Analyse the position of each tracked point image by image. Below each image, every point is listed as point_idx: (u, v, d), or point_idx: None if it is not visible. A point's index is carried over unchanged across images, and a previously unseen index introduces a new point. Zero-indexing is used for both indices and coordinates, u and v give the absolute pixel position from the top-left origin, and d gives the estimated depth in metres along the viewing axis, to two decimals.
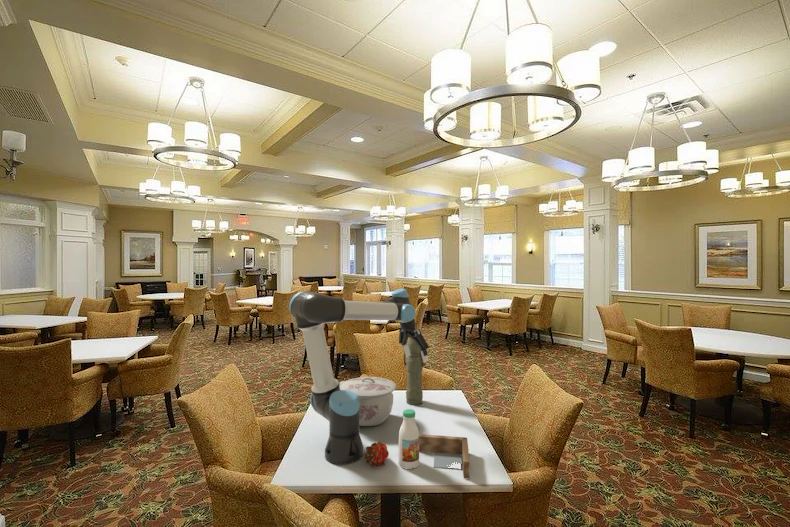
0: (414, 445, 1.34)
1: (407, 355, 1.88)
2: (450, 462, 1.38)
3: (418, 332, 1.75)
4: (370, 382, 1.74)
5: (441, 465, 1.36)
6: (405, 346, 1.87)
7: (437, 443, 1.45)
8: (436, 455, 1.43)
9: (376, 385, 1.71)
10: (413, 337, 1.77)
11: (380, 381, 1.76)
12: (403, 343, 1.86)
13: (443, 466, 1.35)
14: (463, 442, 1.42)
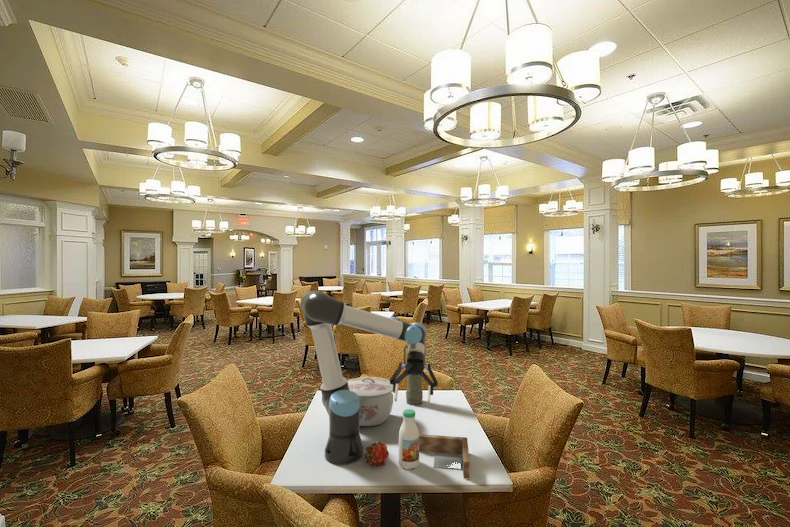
0: (414, 445, 1.34)
1: (396, 397, 1.49)
2: (450, 462, 1.38)
3: (430, 367, 1.57)
4: (370, 382, 1.74)
5: (441, 465, 1.36)
6: (397, 386, 1.52)
7: (437, 443, 1.45)
8: (436, 455, 1.43)
9: (376, 385, 1.71)
10: (422, 370, 1.55)
11: (380, 381, 1.76)
12: (398, 380, 1.53)
13: (443, 466, 1.35)
14: (463, 442, 1.42)
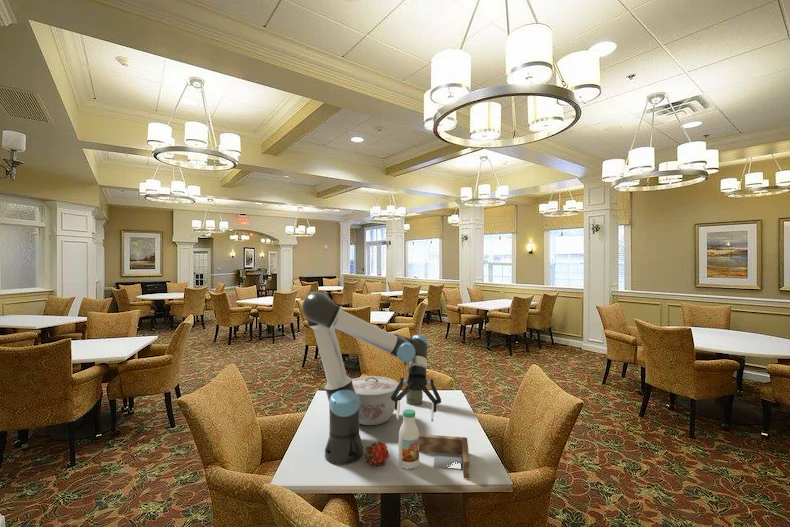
0: (414, 445, 1.34)
1: (398, 415, 1.43)
2: (450, 462, 1.38)
3: (433, 382, 1.52)
4: (374, 381, 1.75)
5: (441, 465, 1.36)
6: (399, 403, 1.47)
7: (437, 443, 1.45)
8: (436, 455, 1.43)
9: (380, 383, 1.72)
10: (425, 386, 1.50)
11: (383, 380, 1.78)
12: (399, 397, 1.48)
13: (443, 466, 1.35)
14: (463, 442, 1.42)
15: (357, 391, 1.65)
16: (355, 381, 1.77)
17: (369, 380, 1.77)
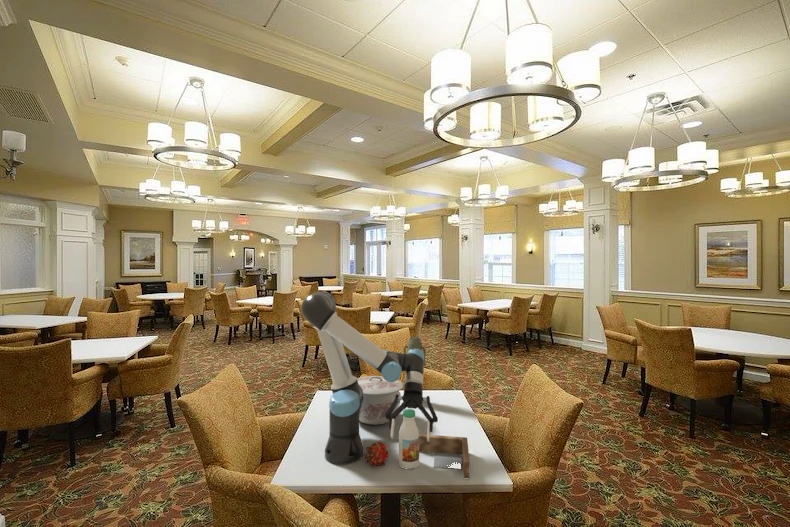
0: (414, 445, 1.34)
1: (392, 434, 1.37)
2: (450, 462, 1.38)
3: (429, 399, 1.45)
4: (378, 380, 1.76)
5: (441, 465, 1.36)
6: (394, 421, 1.40)
7: (437, 443, 1.45)
8: (436, 455, 1.43)
9: (385, 382, 1.74)
10: None
11: None
12: (394, 415, 1.41)
13: (443, 466, 1.35)
14: (463, 442, 1.42)
15: (365, 391, 1.65)
16: (359, 381, 1.76)
17: (373, 380, 1.77)
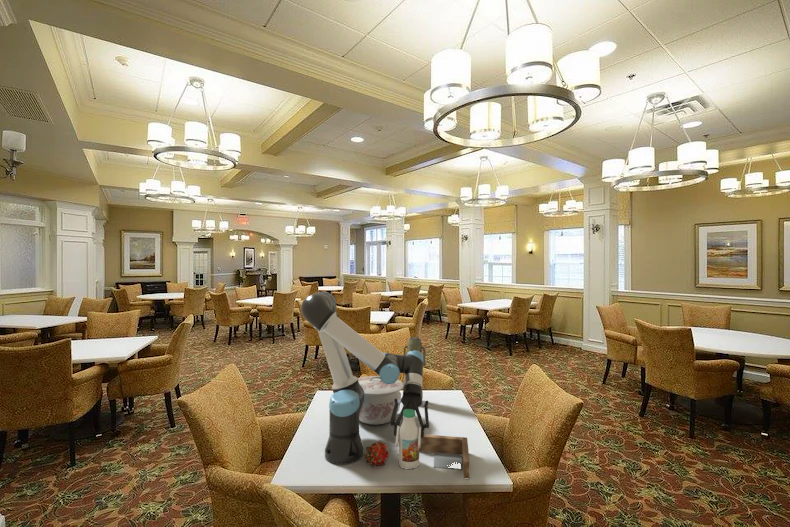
0: (414, 444, 1.34)
1: (397, 442, 1.34)
2: (450, 462, 1.38)
3: (428, 404, 1.44)
4: (379, 380, 1.76)
5: (441, 465, 1.36)
6: (399, 428, 1.38)
7: (437, 443, 1.45)
8: (436, 455, 1.43)
9: None
10: None
11: None
12: (399, 421, 1.39)
13: (443, 466, 1.35)
14: (463, 442, 1.42)
15: (367, 391, 1.65)
16: (359, 381, 1.76)
17: (373, 380, 1.77)
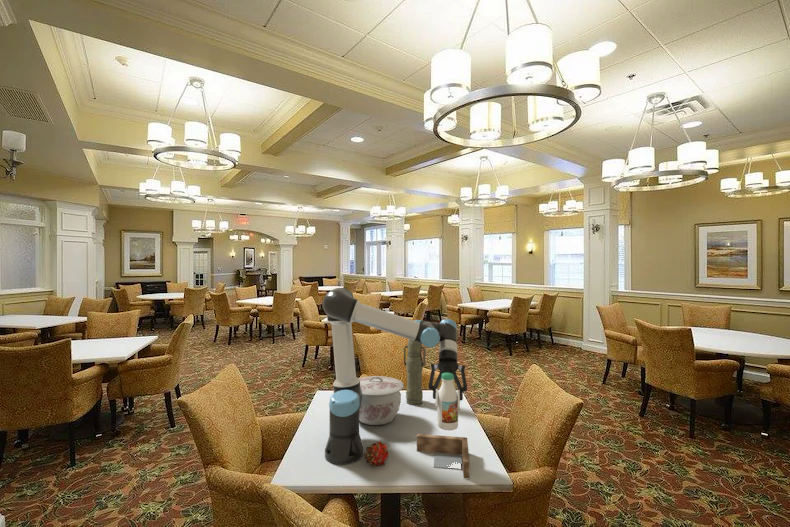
0: (453, 406, 1.36)
1: (437, 404, 1.37)
2: (450, 462, 1.38)
3: (464, 369, 1.46)
4: (378, 381, 1.76)
5: (441, 465, 1.36)
6: (437, 391, 1.40)
7: (437, 443, 1.45)
8: (436, 455, 1.43)
9: (386, 383, 1.74)
10: (455, 371, 1.44)
11: (386, 379, 1.80)
12: (437, 384, 1.41)
13: (443, 466, 1.35)
14: (463, 442, 1.42)
15: (366, 392, 1.65)
16: None
17: (373, 380, 1.77)
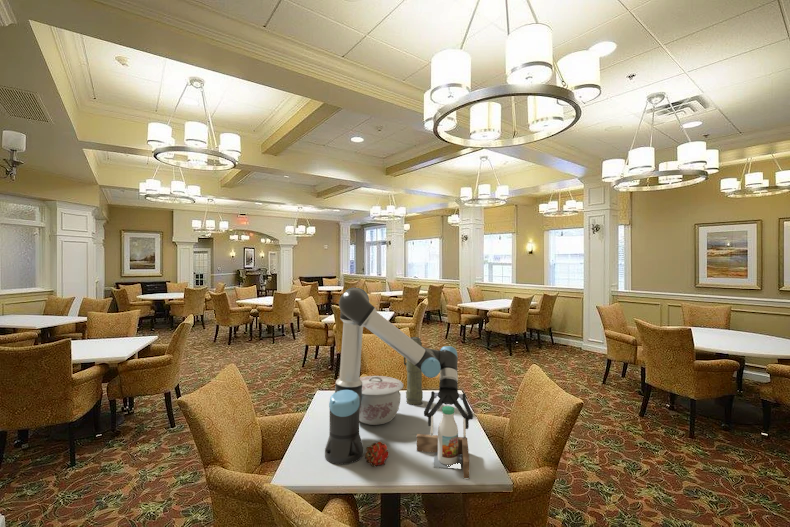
0: (454, 441, 1.36)
1: (432, 431, 1.38)
2: None
3: (465, 396, 1.46)
4: (378, 381, 1.76)
5: (441, 465, 1.36)
6: None
7: (437, 443, 1.45)
8: (436, 455, 1.43)
9: (385, 383, 1.74)
10: None
11: (386, 379, 1.80)
12: (433, 412, 1.42)
13: (443, 466, 1.35)
14: (463, 442, 1.42)
15: (365, 391, 1.65)
16: None
17: (373, 380, 1.77)
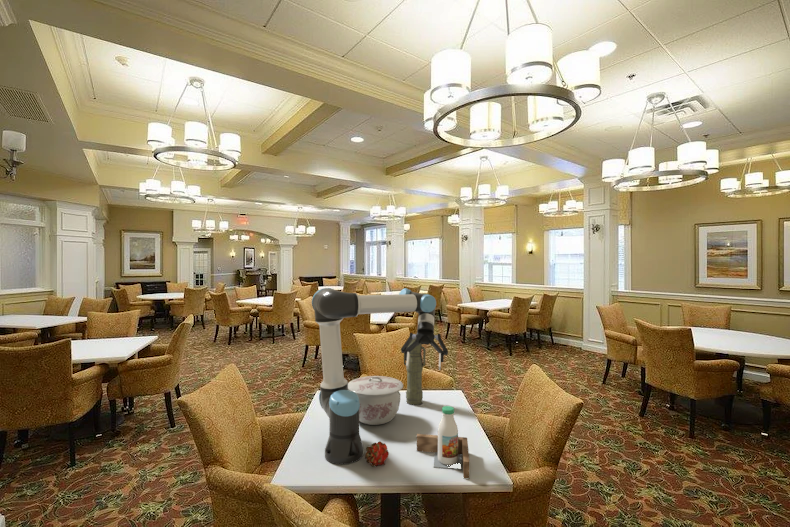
0: (454, 441, 1.36)
1: (408, 364, 1.54)
2: None
3: (440, 336, 1.63)
4: (378, 381, 1.76)
5: (441, 465, 1.36)
6: None
7: (437, 443, 1.45)
8: (436, 455, 1.43)
9: (385, 383, 1.74)
10: (433, 339, 1.60)
11: (386, 379, 1.79)
12: (409, 349, 1.59)
13: (443, 466, 1.35)
14: (463, 442, 1.42)
15: (365, 391, 1.65)
16: (359, 382, 1.76)
17: (373, 380, 1.77)
